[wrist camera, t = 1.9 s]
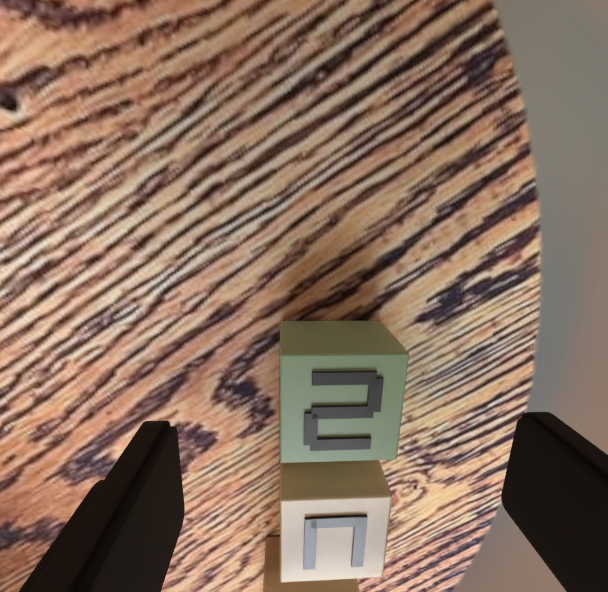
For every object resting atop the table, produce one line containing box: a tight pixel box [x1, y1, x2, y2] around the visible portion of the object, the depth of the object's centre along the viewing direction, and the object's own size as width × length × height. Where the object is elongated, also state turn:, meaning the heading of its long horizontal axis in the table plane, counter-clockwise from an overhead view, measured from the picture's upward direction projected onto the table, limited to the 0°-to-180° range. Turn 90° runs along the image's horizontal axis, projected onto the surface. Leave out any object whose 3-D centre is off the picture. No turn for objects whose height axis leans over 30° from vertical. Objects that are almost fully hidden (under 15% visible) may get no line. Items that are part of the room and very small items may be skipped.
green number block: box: [279, 321, 409, 463], centre depth 11 cm, size 4×4×3 cm
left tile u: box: [280, 460, 392, 583], centre depth 13 cm, size 4×4×3 cm
